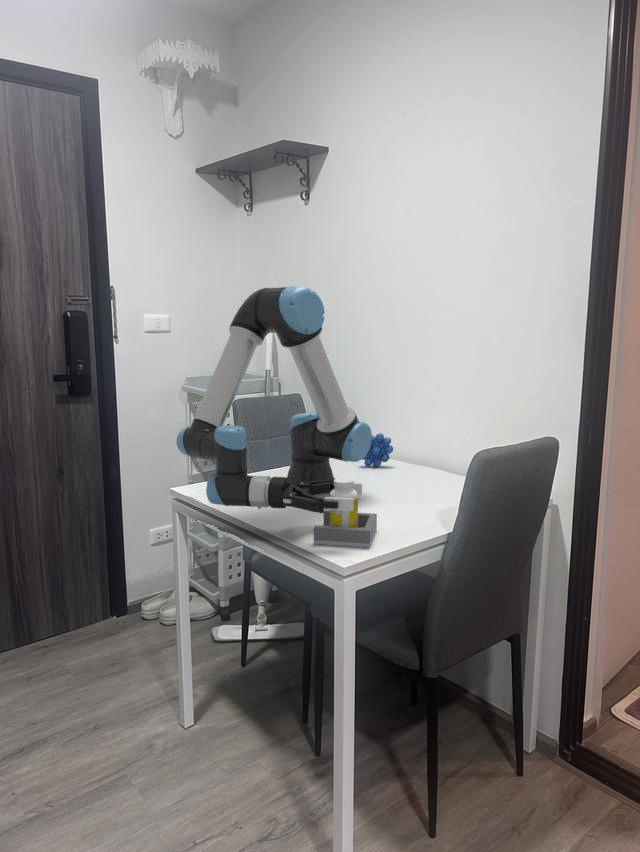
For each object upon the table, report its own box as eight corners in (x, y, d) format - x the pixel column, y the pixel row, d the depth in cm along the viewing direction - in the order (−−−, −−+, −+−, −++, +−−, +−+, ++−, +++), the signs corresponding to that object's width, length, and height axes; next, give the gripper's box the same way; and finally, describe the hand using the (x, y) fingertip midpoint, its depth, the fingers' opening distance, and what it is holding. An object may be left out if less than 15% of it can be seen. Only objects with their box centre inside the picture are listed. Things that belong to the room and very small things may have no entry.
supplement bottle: (356, 527, 156) (357, 476, 154) (358, 537, 150) (359, 483, 148) (329, 528, 156) (329, 476, 154) (330, 537, 150) (330, 483, 148)
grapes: (393, 464, 227) (393, 431, 225) (393, 469, 220) (393, 434, 218) (360, 464, 228) (360, 430, 226) (359, 468, 222) (359, 434, 220)
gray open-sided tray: (313, 544, 148) (313, 527, 148) (324, 526, 161) (324, 510, 160) (369, 547, 146) (369, 530, 145) (376, 529, 158) (376, 513, 158)
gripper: (284, 493, 168) (364, 497, 164) (255, 523, 144) (349, 528, 140) (283, 465, 167) (365, 468, 163) (254, 490, 143) (349, 495, 138)
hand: (358, 496), depth 151 cm, fingers open, 13 cm apart
